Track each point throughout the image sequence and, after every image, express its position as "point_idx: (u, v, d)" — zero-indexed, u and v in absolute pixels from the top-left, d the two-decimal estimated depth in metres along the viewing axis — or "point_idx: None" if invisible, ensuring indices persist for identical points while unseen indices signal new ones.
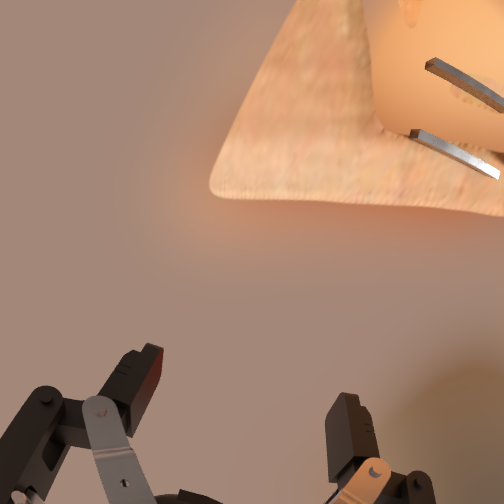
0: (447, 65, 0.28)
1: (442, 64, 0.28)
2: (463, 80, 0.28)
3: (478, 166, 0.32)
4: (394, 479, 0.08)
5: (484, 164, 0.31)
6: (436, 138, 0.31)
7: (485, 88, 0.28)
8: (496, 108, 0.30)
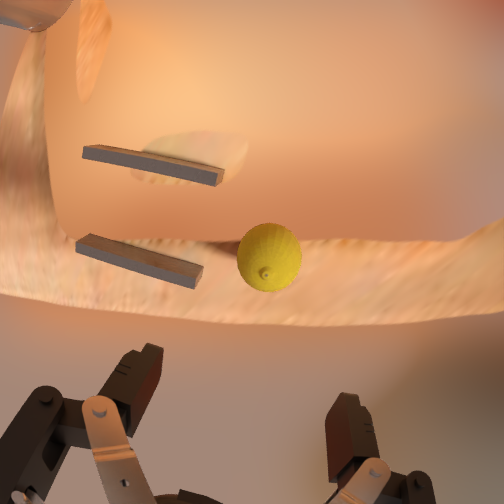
0: (98, 151, 0.26)
1: (91, 152, 0.26)
2: (120, 164, 0.27)
3: (155, 276, 0.30)
4: (394, 479, 0.08)
5: (165, 272, 0.30)
6: (93, 249, 0.30)
7: (156, 163, 0.26)
8: None
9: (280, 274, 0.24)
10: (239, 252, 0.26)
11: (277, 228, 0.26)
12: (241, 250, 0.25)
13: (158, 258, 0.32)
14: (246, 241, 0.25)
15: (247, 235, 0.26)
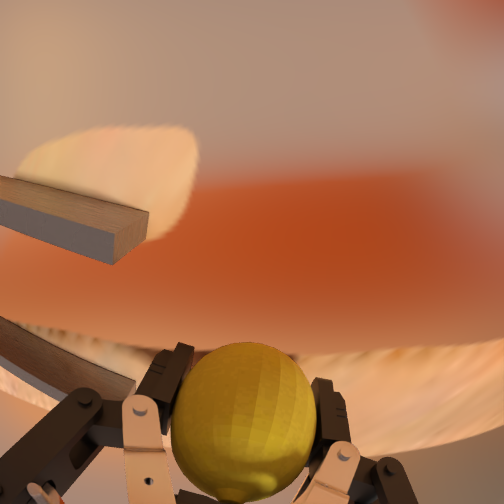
0: None
1: None
2: None
3: (56, 397, 0.14)
4: (365, 465, 0.09)
5: None
6: None
7: (9, 209, 0.10)
8: None
9: (263, 495, 0.08)
10: (171, 427, 0.09)
11: (262, 381, 0.10)
12: (173, 429, 0.09)
13: (62, 363, 0.15)
14: (183, 413, 0.09)
15: (189, 389, 0.10)
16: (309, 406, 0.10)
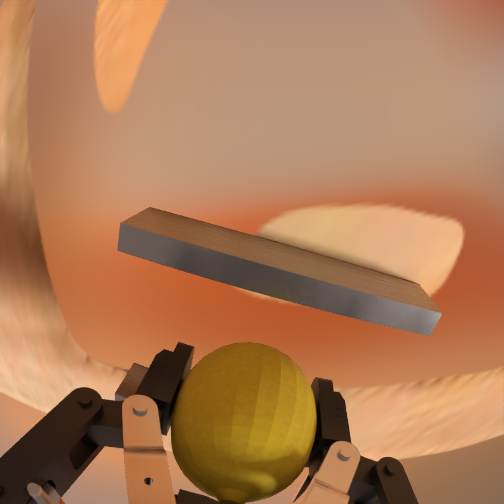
0: (161, 241, 0.12)
1: (143, 242, 0.12)
2: (224, 280, 0.12)
3: None
4: (365, 465, 0.09)
5: None
6: None
7: (322, 289, 0.12)
8: None
9: (264, 495, 0.08)
10: (172, 427, 0.09)
11: (262, 381, 0.10)
12: (173, 429, 0.09)
13: None
14: (184, 414, 0.09)
15: (189, 389, 0.10)
16: (309, 406, 0.10)
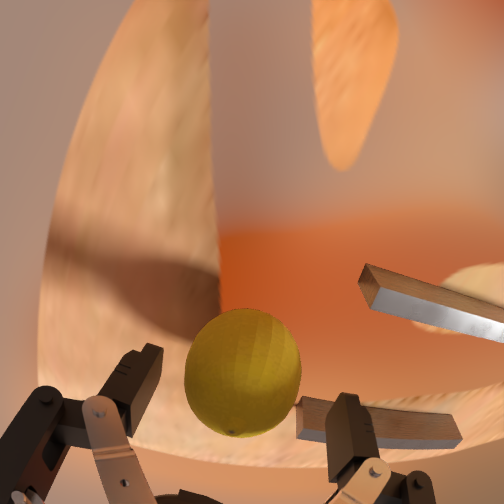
0: (410, 301, 0.14)
1: (396, 302, 0.14)
2: (443, 325, 0.14)
3: (419, 447, 0.17)
4: (394, 479, 0.08)
5: (433, 442, 0.17)
6: None
7: (492, 326, 0.14)
8: None
9: (259, 426, 0.11)
10: (186, 372, 0.13)
11: (258, 332, 0.13)
12: (188, 372, 0.13)
13: (414, 421, 0.19)
14: (197, 358, 0.13)
15: (201, 340, 0.13)
16: (295, 356, 0.13)
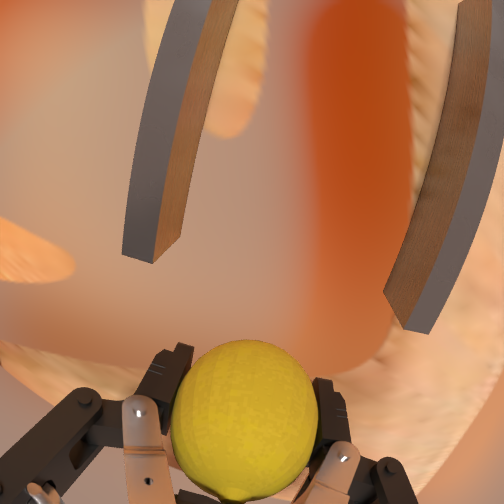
0: (134, 203, 0.10)
1: (137, 226, 0.10)
2: (174, 122, 0.09)
3: None
4: (365, 465, 0.09)
5: (497, 47, 0.06)
6: (437, 268, 0.09)
7: (181, 9, 0.07)
8: None
9: (235, 477, 0.07)
10: None
11: None
12: None
13: (460, 83, 0.09)
14: None
15: None
16: (202, 378, 0.10)
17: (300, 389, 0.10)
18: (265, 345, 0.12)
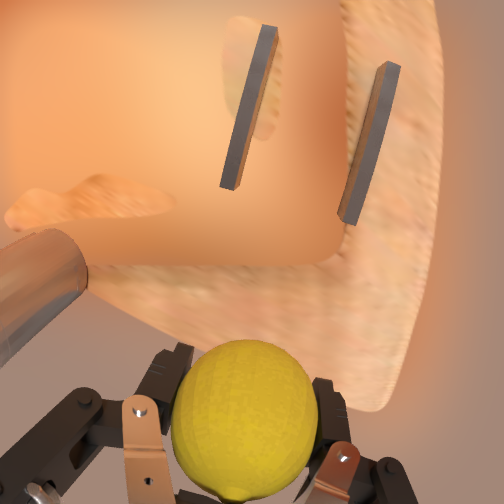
0: (227, 165, 0.24)
1: (228, 174, 0.24)
2: (246, 134, 0.23)
3: (388, 109, 0.21)
4: (365, 465, 0.09)
5: (383, 95, 0.21)
6: (354, 193, 0.24)
7: (248, 87, 0.22)
8: (274, 50, 0.22)
9: (235, 477, 0.07)
10: None
11: (173, 407, 0.11)
12: None
13: (369, 113, 0.23)
14: None
15: None
16: (202, 378, 0.10)
17: (300, 389, 0.10)
18: (265, 345, 0.12)
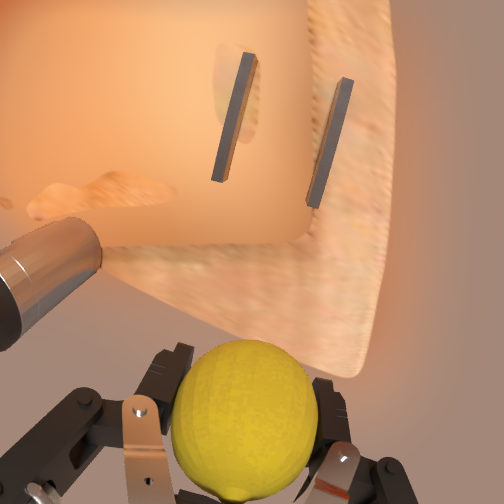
0: (217, 163, 0.31)
1: (218, 170, 0.32)
2: (231, 139, 0.30)
3: (342, 116, 0.28)
4: (365, 465, 0.09)
5: (338, 105, 0.28)
6: (315, 183, 0.31)
7: (233, 102, 0.29)
8: (253, 71, 0.30)
9: (235, 477, 0.07)
10: None
11: (173, 407, 0.10)
12: None
13: (329, 119, 0.30)
14: None
15: None
16: (202, 378, 0.10)
17: (300, 389, 0.10)
18: (265, 345, 0.12)
